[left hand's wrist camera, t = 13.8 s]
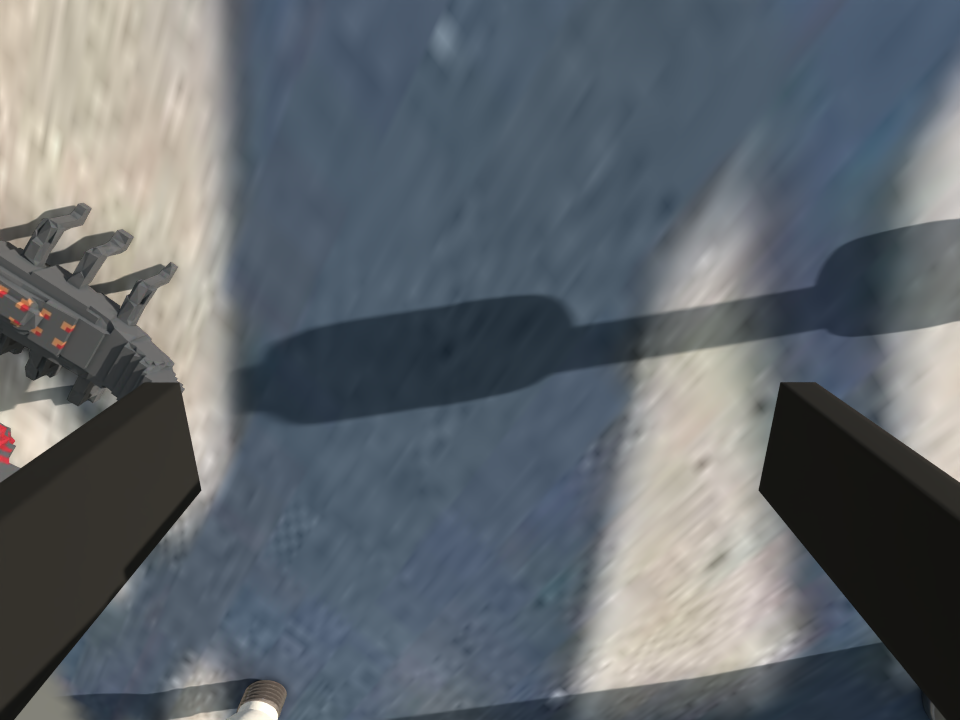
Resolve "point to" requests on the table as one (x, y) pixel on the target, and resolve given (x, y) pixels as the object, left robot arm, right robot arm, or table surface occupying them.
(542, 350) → the table surface
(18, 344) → the toy
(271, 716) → the light bulb
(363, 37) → the table surface
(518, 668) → the table surface
